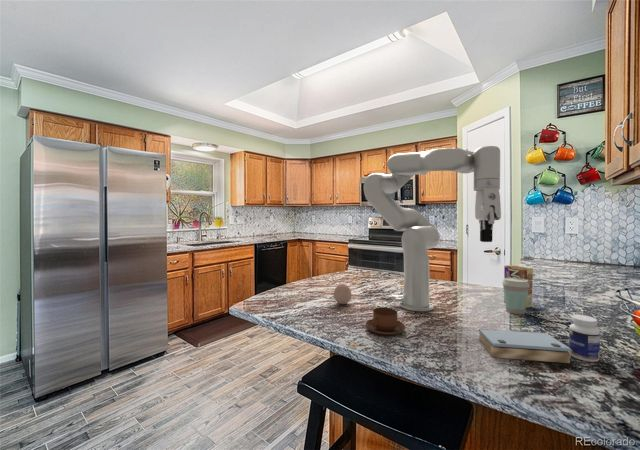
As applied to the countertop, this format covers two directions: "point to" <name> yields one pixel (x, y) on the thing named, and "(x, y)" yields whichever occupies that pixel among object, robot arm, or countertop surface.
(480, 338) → the hinged lid wooden box
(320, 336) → the countertop surface
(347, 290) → the egg
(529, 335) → the cover
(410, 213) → the robot arm
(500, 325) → the countertop surface
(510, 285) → the coffee cup
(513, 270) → the candy box
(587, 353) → the pill bottle
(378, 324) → the cup and saucer
